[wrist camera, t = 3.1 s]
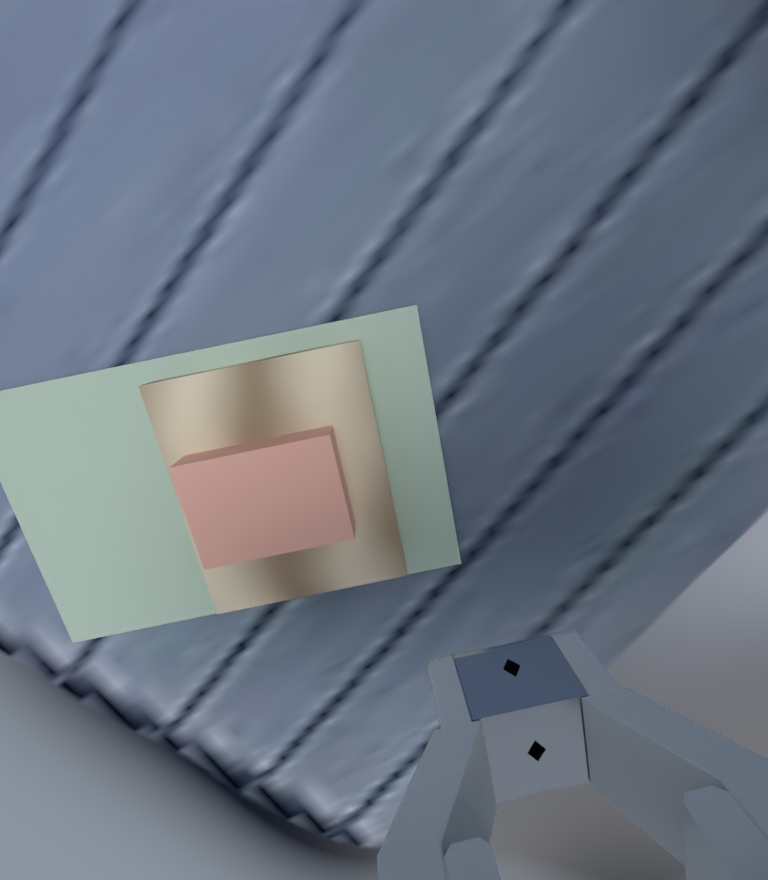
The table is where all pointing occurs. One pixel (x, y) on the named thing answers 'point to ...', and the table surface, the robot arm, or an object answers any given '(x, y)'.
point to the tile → (265, 497)
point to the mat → (149, 486)
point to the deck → (275, 414)
